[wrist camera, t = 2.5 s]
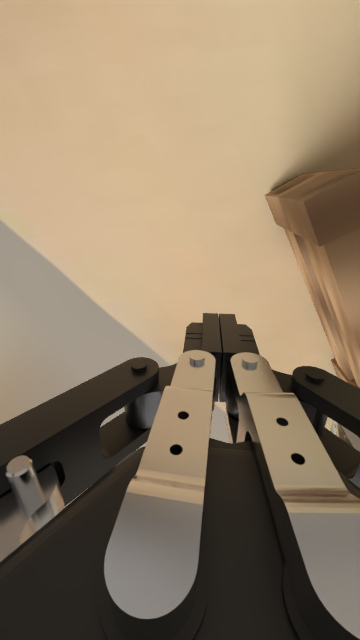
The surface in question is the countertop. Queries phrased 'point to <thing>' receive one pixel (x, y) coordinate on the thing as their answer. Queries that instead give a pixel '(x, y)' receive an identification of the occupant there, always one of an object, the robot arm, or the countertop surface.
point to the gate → (327, 254)
